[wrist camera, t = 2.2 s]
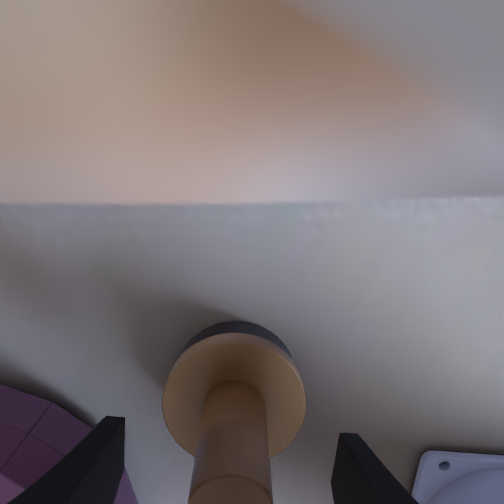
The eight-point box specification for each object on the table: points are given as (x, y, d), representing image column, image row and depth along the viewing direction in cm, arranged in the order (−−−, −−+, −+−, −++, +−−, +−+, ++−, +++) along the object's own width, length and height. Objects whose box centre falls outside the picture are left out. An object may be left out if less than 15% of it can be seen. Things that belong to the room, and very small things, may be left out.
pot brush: (306, 321, 17) (345, 432, 10) (290, 432, 18) (315, 591, 12) (175, 310, 17) (131, 416, 10) (169, 424, 18) (126, 580, 12)
